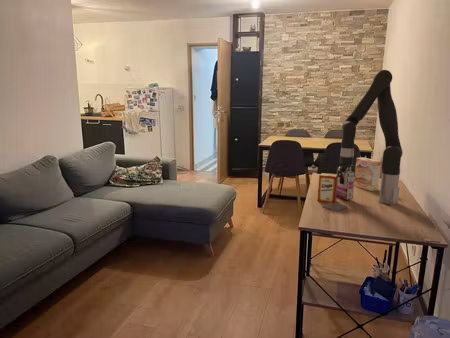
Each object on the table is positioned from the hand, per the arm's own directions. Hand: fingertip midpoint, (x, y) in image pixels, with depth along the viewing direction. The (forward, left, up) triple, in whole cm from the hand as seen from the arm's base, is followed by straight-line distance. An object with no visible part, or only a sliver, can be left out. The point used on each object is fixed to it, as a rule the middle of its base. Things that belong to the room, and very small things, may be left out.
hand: (344, 183), depth 210 cm
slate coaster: (-8, +19, -9) cm, 23 cm away
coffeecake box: (+6, -33, -10) cm, 35 cm away
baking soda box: (+2, +13, -10) cm, 16 cm away
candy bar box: (0, 0, -9) cm, 9 cm away
